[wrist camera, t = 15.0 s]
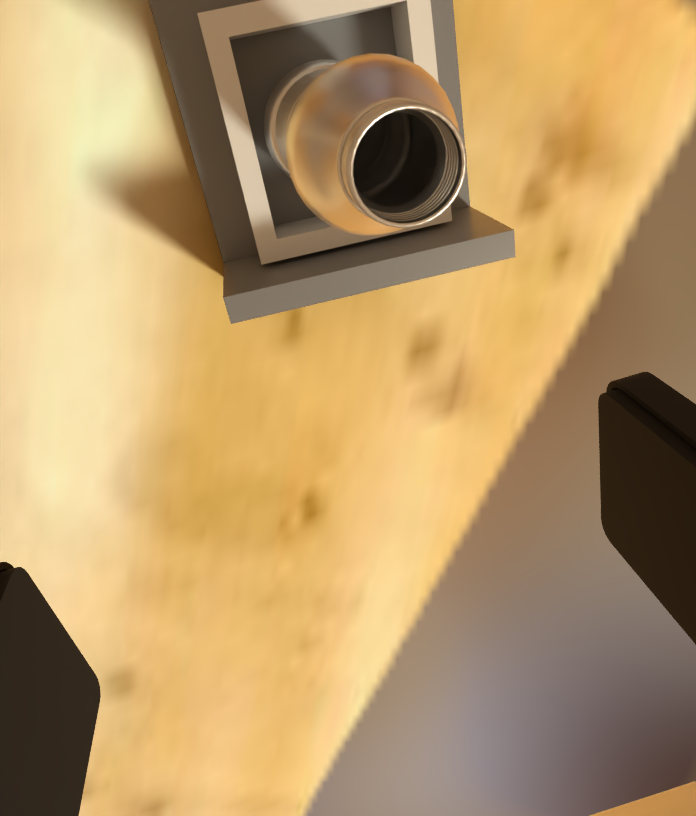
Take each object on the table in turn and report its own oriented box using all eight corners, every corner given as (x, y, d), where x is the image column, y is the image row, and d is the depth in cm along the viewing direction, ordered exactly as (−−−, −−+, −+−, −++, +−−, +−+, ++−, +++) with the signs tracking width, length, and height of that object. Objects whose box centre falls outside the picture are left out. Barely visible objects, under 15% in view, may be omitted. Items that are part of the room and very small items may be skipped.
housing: (147, -11, 33) (125, -34, 26) (440, -70, 34) (496, -108, 27) (230, 281, 41) (231, 323, 34) (466, 226, 42) (515, 256, 35)
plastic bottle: (253, 65, 34) (282, 53, 17) (374, 55, 35) (521, 35, 18) (268, 188, 37) (306, 286, 20) (379, 177, 38) (509, 262, 21)
